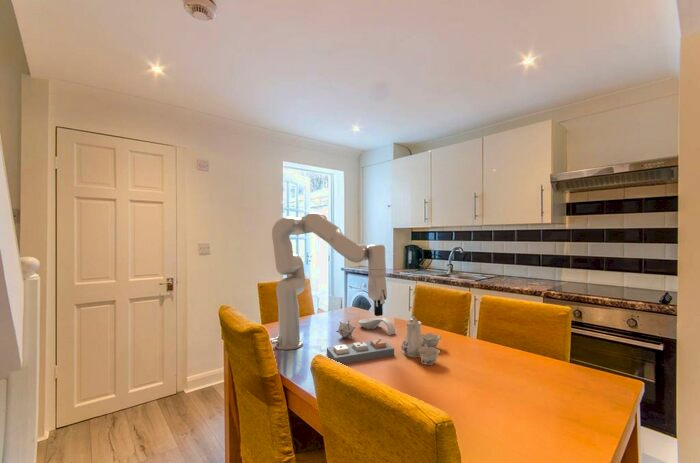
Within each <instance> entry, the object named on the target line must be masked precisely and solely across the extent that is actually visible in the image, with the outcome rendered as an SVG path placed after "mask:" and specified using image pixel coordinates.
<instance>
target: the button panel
mask: <svg viewBox="0 0 700 463" xmlns="http://www.w3.org/2000/svg"><path fill="white" fill-rule="evenodd" d="M371 341H372V340H370V341H365V342H364V341H363V342H364V343H366V344H367V345H368V350H362V351H355V350H354V349H353V343H349V344H345V345H346V346H347V347H348V348H349V353H343V354H336V353H335V352H334V346H331V347H330V346H329V347H326V355H327V357H328V358H329V359H330V358H331V359H333V360H335V361H337V362H340V363H342V364H341V365H347V364H351V363H357V362H358V363H359V362H364V361H370V360H376V359H382V358H388V357H393V356H395V347H393V346H391V344H388V343H387V342H386V347H382V348H374V347H373V346H371ZM331 359H330V360H331Z"/></svg>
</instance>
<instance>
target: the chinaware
mask: <svg viewBox="0 0 700 463" xmlns="http://www.w3.org/2000/svg"><path fill="white" fill-rule="evenodd" d="M405 323H406V326H407V328H406V330H407V331H406V335H405V338H404V340H403V341H402V343H401V345H400V348H401V349H402V351H403V352H404V353H403V354H404V355H405V356H406V357H408V358H420V360H421V361H420V362H421V364H423V365H427V366H432V365H434V363H435V362H436V361H437V359H438V356H439V354H440V353H441V350H440V349H438V348H436V347H437V346H438V344H439V343H440V340H441V339H442V338H441V335H439V334H433V333H432V332H431V333H430V332H429V333H425V334H424V333H423V334H422V333H421V325H422V322H421V321H420V320H418V319H417V318H416V317H415V315H413V316H412V317H411V318H410V319H409V320H406V322H405Z"/></svg>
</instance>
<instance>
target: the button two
mask: <svg viewBox="0 0 700 463" xmlns="http://www.w3.org/2000/svg"><path fill="white" fill-rule="evenodd" d="M352 344H353V349H354V350H355V351H362V350H368V345H367V344H366V343H364V341H360V342H359V341H358V342H352Z"/></svg>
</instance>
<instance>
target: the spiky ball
mask: <svg viewBox="0 0 700 463" xmlns="http://www.w3.org/2000/svg"><path fill="white" fill-rule="evenodd" d="M354 329H356V327H354V326H353V325H352V324H351V322H350V320H347V321H346V322H341V321H339V327H338V330H336V331H335V332H336V333H338V334H339V335H340V336H341V337H342V340H344V339H345V338H353V336H352V335H353V333H354Z"/></svg>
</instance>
